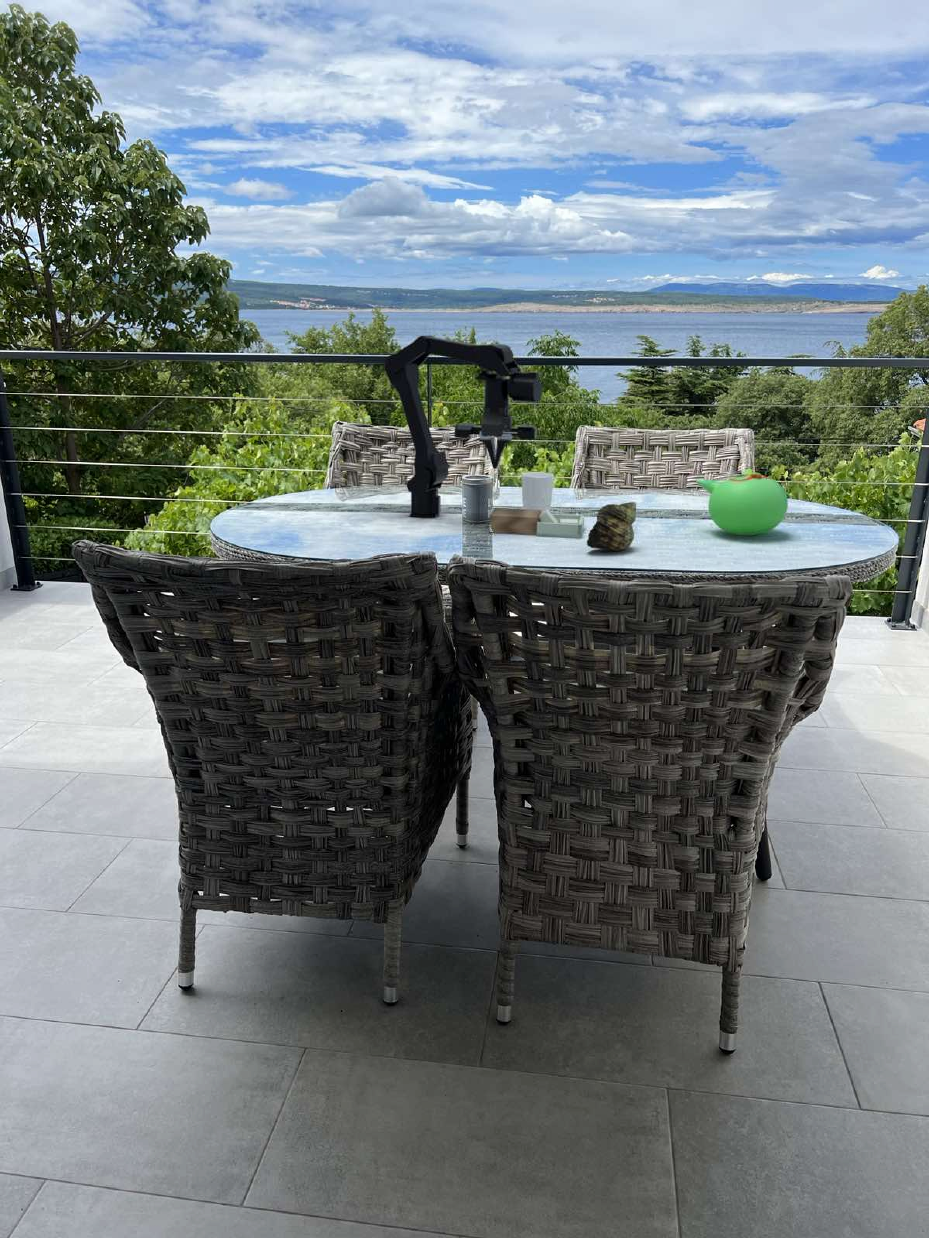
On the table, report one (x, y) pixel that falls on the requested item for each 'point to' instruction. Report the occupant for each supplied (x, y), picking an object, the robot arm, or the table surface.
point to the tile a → (547, 517)
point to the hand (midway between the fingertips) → (495, 468)
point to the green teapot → (746, 503)
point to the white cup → (537, 490)
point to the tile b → (569, 521)
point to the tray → (562, 527)
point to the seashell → (613, 527)
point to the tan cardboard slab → (514, 521)
